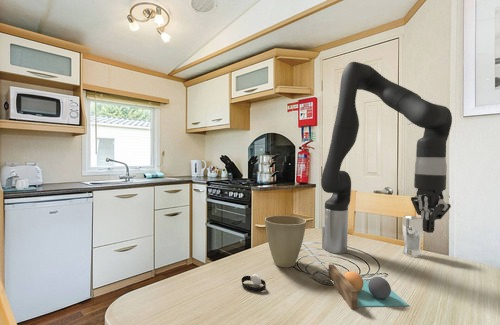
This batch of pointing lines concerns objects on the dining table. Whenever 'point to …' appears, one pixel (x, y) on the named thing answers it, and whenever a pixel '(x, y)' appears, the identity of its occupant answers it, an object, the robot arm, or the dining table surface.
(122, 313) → the dining table surface
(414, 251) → the beer glass
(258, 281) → the watch
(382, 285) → the charcoal ball
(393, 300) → the teal mark
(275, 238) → the plant pot
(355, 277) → the terracotta ball
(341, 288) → the walnut stopper
